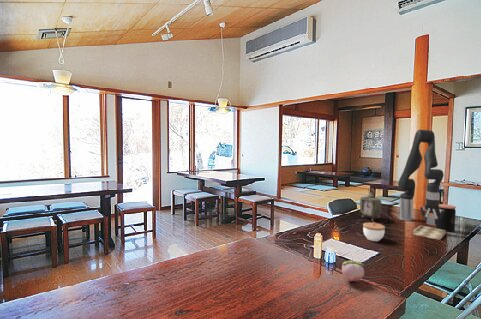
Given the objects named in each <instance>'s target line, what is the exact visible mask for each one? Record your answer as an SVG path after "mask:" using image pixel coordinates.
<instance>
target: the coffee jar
mask: <svg viewBox="0 0 481 319" xmlns="http://www.w3.org/2000/svg"><path fill="white" fill-rule="evenodd" d="M439 208H440V209H441V210H444V213H443V216H442V218H441V219H438V223H437V224H435V228H436V229H441V230H446V233H454V232H455V230H456V229H455V228H456V214H457V213H456V212H457V211H456V208H457V206H455V205H452V204H443V203H439ZM437 214H438V217H439V216H440V211H438V212H437Z"/></svg>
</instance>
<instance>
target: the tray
mask: <svg viewBox="0 0 481 319" xmlns="http://www.w3.org/2000/svg"><path fill="white" fill-rule="evenodd" d="M446 233H447V232H446V230H441V229H436V227H430V226H424V225H419V226H417V227H416V228H415V229H413V230H412V235H415V236H421V237H425V238H428V239H434V240H438V241H440V240H441V239H442V238H443V237H444V236H445V235H446Z"/></svg>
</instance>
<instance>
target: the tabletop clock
mask: <svg viewBox="0 0 481 319" xmlns="http://www.w3.org/2000/svg"><path fill="white" fill-rule="evenodd" d="M369 190H372V191H373V192H372V191H369ZM367 192H368V194H367V196H361V197H360V200H359V212H360V213H361V214H362V215H361V217H362V218H364V217H365V216H366V217H367V216H368V217H370V218H371V221H372V222H375V221H374V217H375V216H376V217H377V216H380V215H381V214H382V200H381V199H380V198H378V197H375V190H374V189H373V188H368V189H367Z"/></svg>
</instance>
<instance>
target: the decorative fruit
mask: <svg viewBox="0 0 481 319" xmlns="http://www.w3.org/2000/svg"><path fill="white" fill-rule="evenodd" d="M363 266H364V267H365V264H363V263H362V262H360V261H358V260H357V261H355V260H354V259H352V260H346V261H344V262H342V263H341V272H342V275H343V277H344V278H345V279H347V280H348V281H350V282H351V281H355V282H357V281H359V280H361V279H362V278H363V277H364V276H365V270H364V268H363Z"/></svg>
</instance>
